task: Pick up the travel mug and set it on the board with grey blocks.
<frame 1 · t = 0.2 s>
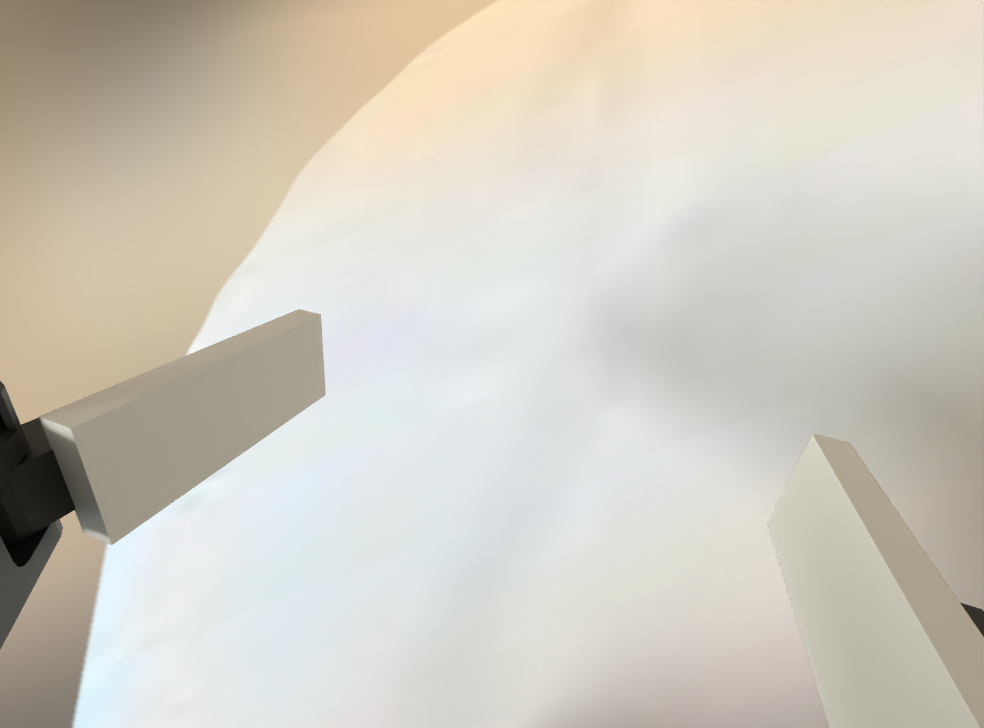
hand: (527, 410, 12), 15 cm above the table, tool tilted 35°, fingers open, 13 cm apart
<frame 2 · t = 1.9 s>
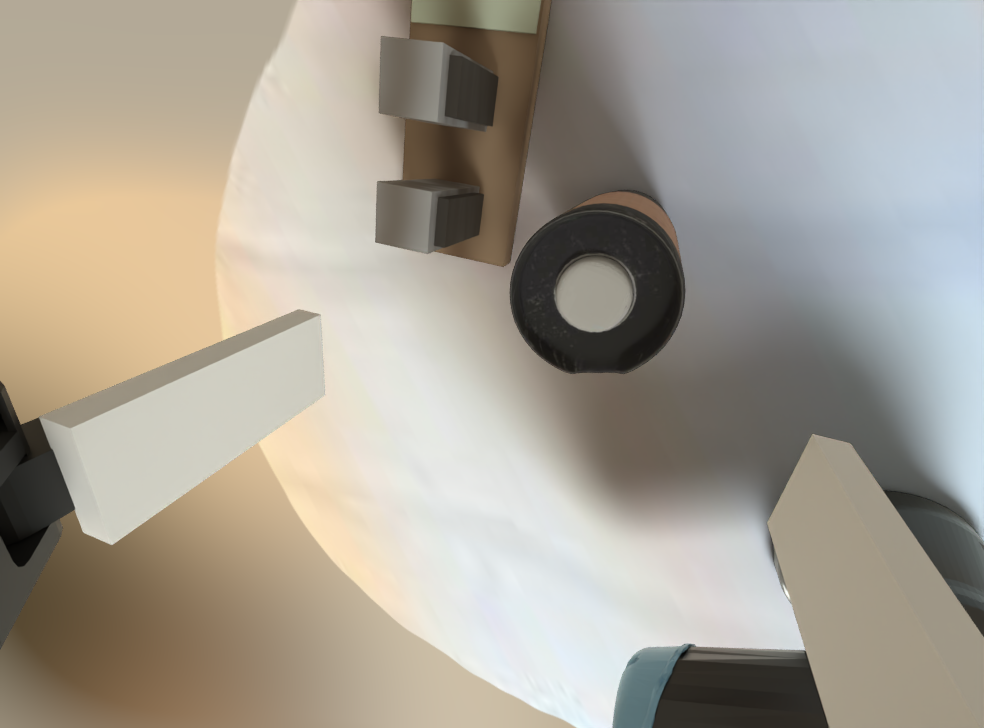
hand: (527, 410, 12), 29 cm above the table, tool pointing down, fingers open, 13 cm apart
travel mug: (623, 236, 37), on the table
board with grey blocks: (476, 88, 36), on the table
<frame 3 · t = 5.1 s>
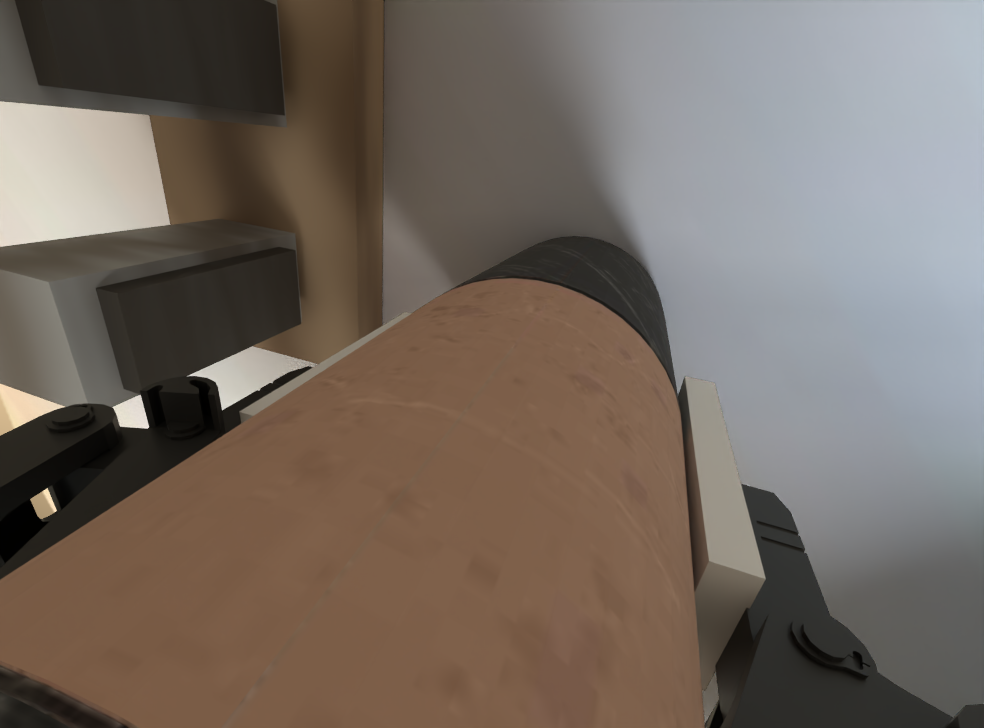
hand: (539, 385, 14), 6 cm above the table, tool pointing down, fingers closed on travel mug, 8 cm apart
travel mug: (573, 321, 19), on the table, touching gripper
board with grey blocks: (274, 42, 18), on the table
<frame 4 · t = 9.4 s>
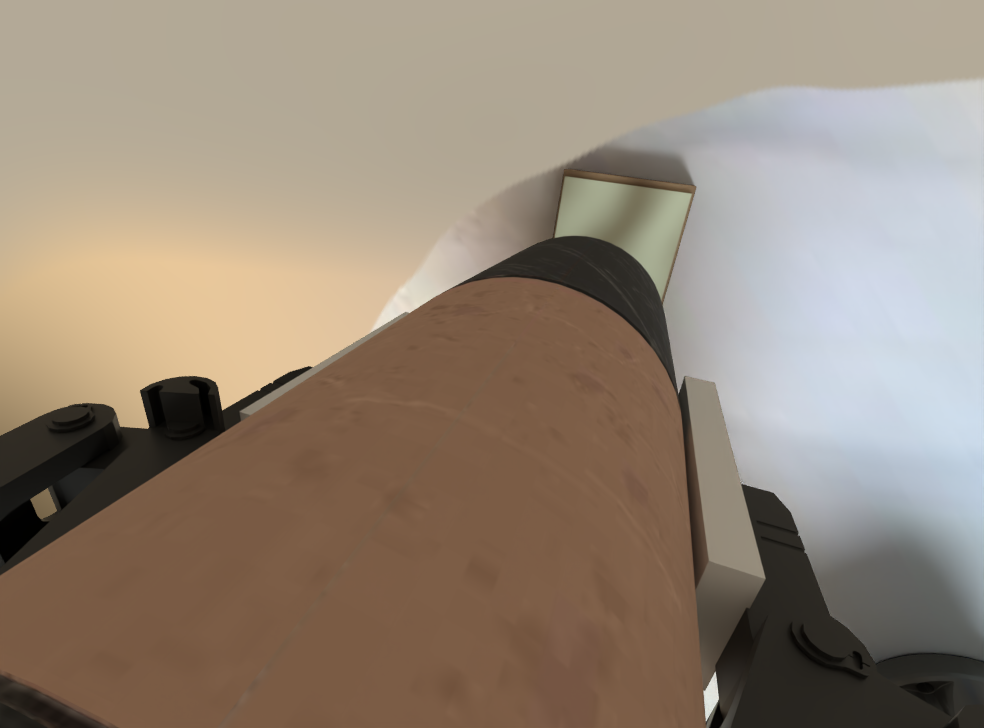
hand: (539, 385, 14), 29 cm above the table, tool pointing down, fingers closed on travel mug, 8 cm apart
travel mug: (573, 320, 19), point 23 cm above the table, touching gripper
board with grey blocks: (595, 326, 42), on the table
when the fingers open (10 cm above the table, at t = 13.7 s): travel mug drops 2 cm, resting on board with grey blocks.
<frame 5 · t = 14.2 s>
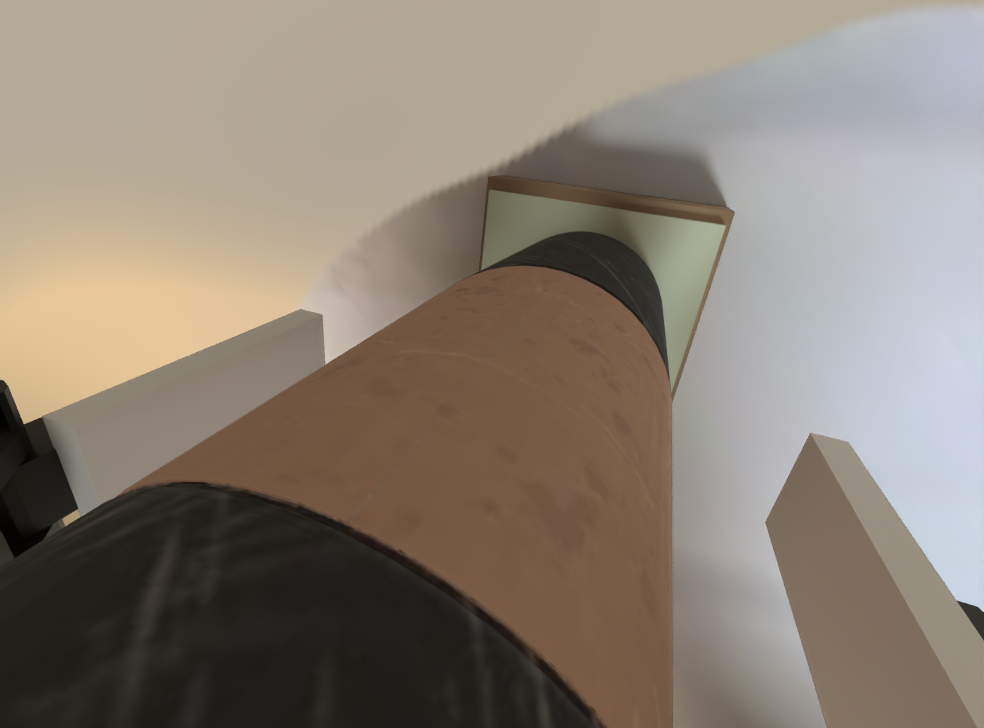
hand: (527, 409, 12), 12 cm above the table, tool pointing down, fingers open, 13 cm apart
travel mug: (578, 310, 21), point 2 cm above the table, touching board with grey blocks
board with grey blocks: (557, 431, 26), on the table
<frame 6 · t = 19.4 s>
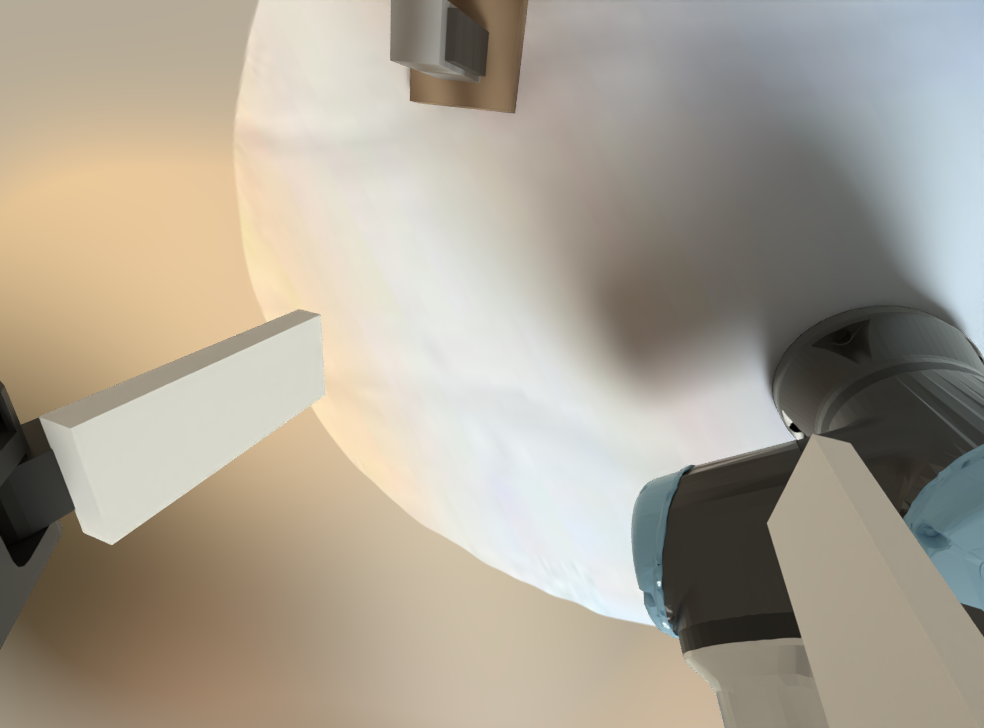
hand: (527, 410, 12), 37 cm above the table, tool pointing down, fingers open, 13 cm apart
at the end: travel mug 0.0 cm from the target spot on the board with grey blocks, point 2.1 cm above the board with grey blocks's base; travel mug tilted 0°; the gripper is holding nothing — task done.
